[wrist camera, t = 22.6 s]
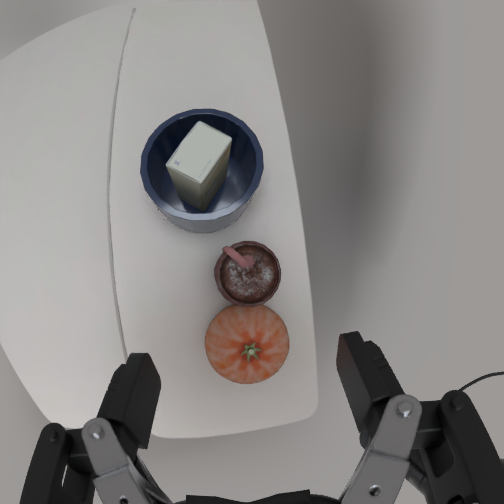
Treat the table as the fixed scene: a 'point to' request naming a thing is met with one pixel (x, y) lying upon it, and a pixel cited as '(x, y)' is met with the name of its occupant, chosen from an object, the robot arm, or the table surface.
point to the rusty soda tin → (247, 273)
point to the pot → (233, 188)
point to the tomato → (247, 343)
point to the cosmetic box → (200, 165)
